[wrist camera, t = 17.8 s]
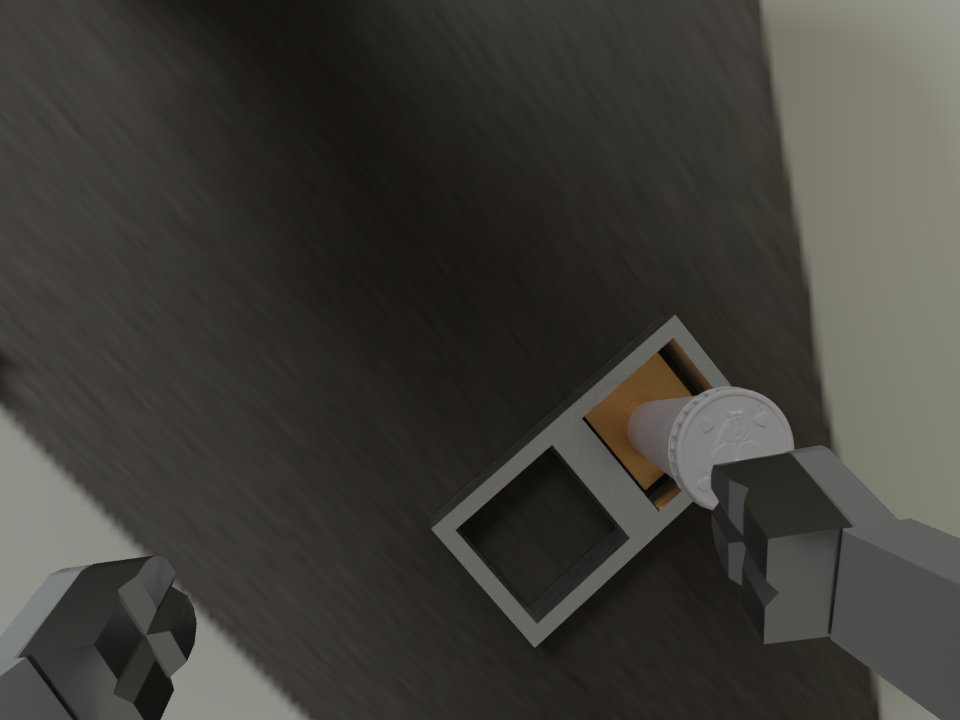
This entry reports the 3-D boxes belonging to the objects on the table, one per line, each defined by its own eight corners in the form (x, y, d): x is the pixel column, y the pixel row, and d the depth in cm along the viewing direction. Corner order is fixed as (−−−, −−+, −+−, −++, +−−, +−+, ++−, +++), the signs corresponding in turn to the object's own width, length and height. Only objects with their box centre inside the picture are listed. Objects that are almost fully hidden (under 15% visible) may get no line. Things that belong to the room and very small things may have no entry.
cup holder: (428, 517, 38) (431, 529, 36) (657, 317, 40) (675, 314, 38) (525, 629, 39) (534, 647, 37) (745, 427, 41) (767, 432, 39)
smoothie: (610, 482, 39) (728, 551, 26) (603, 383, 39) (718, 398, 26) (704, 472, 40) (866, 533, 26) (697, 375, 40) (857, 386, 26)
